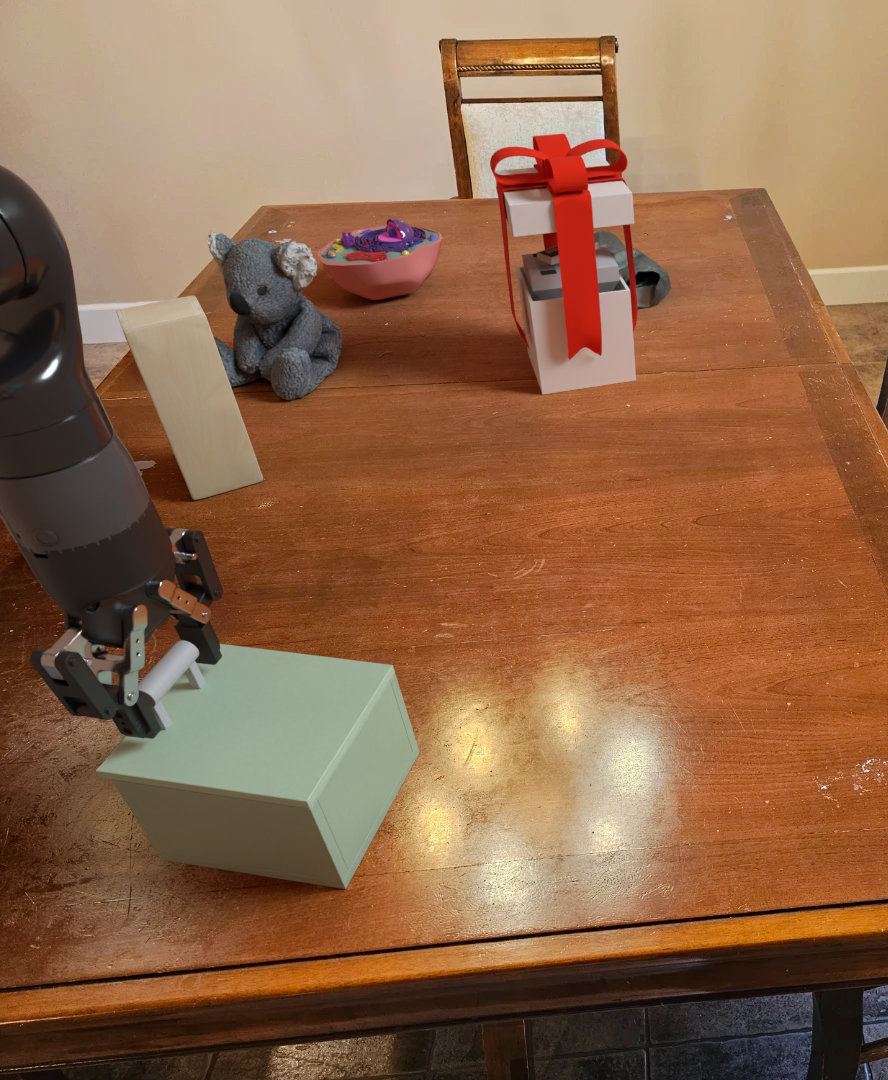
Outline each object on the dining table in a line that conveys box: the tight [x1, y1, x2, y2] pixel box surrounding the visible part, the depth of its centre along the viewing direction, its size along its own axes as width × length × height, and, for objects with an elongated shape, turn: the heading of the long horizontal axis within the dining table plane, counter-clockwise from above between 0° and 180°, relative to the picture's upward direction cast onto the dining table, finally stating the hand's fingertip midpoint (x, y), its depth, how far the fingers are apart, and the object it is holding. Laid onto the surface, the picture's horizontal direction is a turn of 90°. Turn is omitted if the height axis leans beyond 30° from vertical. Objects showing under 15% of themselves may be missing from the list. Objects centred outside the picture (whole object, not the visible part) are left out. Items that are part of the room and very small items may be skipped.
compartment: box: [110, 672, 421, 890], centre depth 70 cm, size 15×13×9 cm
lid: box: [95, 639, 396, 808], centre depth 66 cm, size 16×13×5 cm
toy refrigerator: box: [116, 294, 264, 501], centre depth 104 cm, size 8×7×21 cm
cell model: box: [316, 218, 443, 301], centre depth 151 cm, size 17×20×11 cm
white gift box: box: [489, 133, 639, 395], centre depth 124 cm, size 17×17×30 cm
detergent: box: [594, 229, 672, 310], centre depth 155 cm, size 13×7×25 cm
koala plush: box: [206, 229, 344, 401], centre depth 127 cm, size 17×18×20 cm
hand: (177, 695), depth 67 cm, fingers open, 6 cm apart
